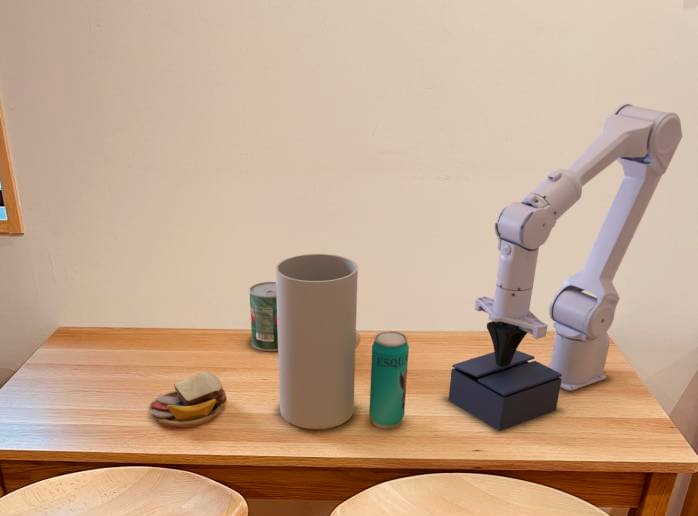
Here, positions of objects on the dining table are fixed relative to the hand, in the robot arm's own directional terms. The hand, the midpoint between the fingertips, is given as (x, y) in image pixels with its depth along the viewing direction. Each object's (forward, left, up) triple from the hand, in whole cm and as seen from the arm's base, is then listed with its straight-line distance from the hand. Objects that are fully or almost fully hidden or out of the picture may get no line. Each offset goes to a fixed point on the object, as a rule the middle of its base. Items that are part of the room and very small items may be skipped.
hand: (503, 364), depth 141 cm
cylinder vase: (+28, -14, -8) cm, 32 cm away
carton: (0, +1, -7) cm, 7 cm away
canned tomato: (+20, -43, -8) cm, 48 cm away
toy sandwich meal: (+46, -27, -8) cm, 54 cm away
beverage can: (+20, -5, -8) cm, 22 cm away
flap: (0, -2, -1) cm, 2 cm away
